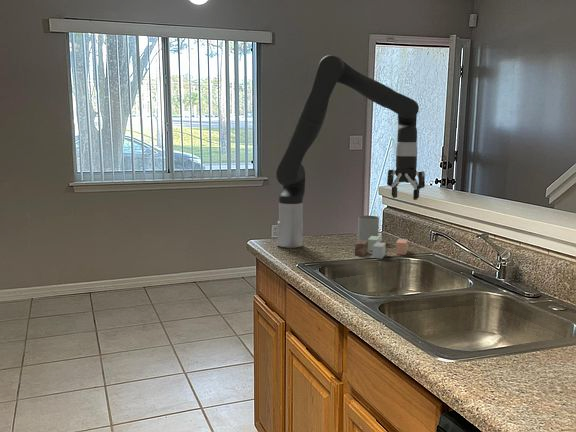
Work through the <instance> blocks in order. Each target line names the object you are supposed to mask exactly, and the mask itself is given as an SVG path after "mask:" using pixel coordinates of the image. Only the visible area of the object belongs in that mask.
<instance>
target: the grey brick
mask: <svg viewBox="0 0 576 432" xmlns="http://www.w3.org/2000/svg"><path fill="white" fill-rule="evenodd" d="M386 247H387V244H386V242H381V241H380V242H376V243H375V244H374V245H373V251H372V257H371V258H373V259H381V260H382V259H383V258H384V257H385V255H386V250H387V249H386Z"/></svg>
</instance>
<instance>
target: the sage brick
mask: <svg viewBox="0 0 576 432" xmlns="http://www.w3.org/2000/svg"><path fill="white" fill-rule="evenodd" d="M376 242H380V243H381V236H379V235H378V236H371V237H370V238H369V239H368V252H373V245H374V244H375V243H376Z"/></svg>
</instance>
